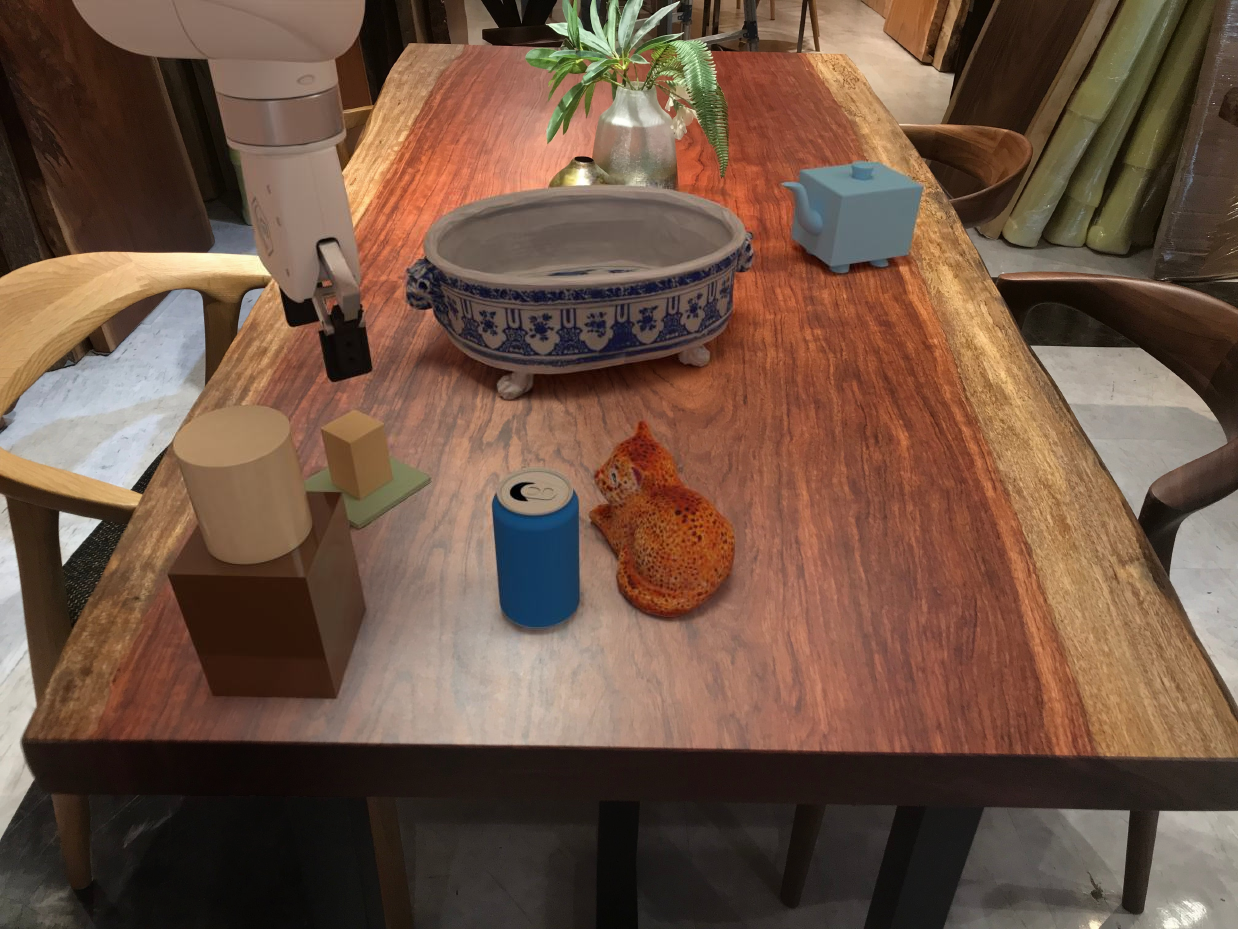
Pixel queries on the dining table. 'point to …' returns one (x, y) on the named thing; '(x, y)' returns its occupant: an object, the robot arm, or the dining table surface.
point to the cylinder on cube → (263, 561)
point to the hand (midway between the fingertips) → (328, 347)
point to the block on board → (376, 499)
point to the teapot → (854, 213)
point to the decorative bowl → (581, 278)
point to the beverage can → (537, 546)
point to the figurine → (660, 529)
